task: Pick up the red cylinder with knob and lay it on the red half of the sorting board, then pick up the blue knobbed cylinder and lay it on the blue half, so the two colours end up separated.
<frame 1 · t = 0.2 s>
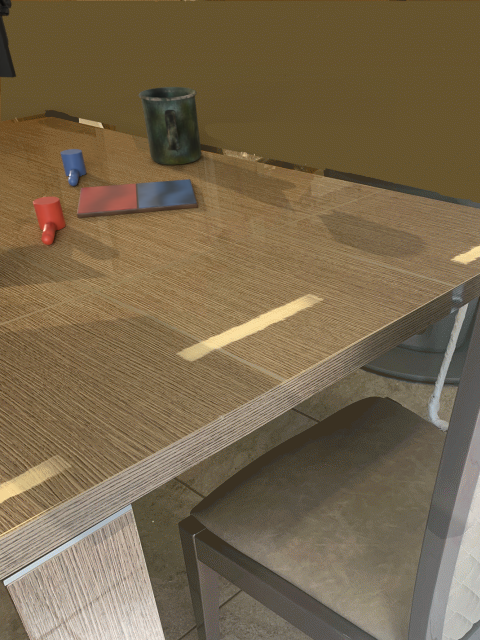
blue knobbed cylinder: (76, 174, 121), on the table
mug: (176, 161, 127), on the table
red cylinder with knob: (53, 226, 99), on the table
sorting board: (137, 199, 109), on the table
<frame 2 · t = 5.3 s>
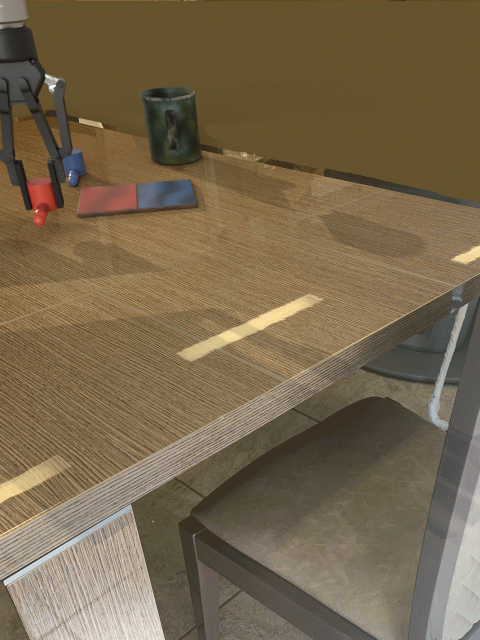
hand: (45, 205, 97), 3 cm above the table, tool pointing down, fingers closed on red cylinder with knob, 4 cm apart
red cylinder with knob: (46, 208, 97), point 3 cm above the table, touching gripper
everything else where it was.
when the fingers open (1 cm above the table, at t = 9.7 s): red cylinder with knob stays where it is, resting on sorting board.
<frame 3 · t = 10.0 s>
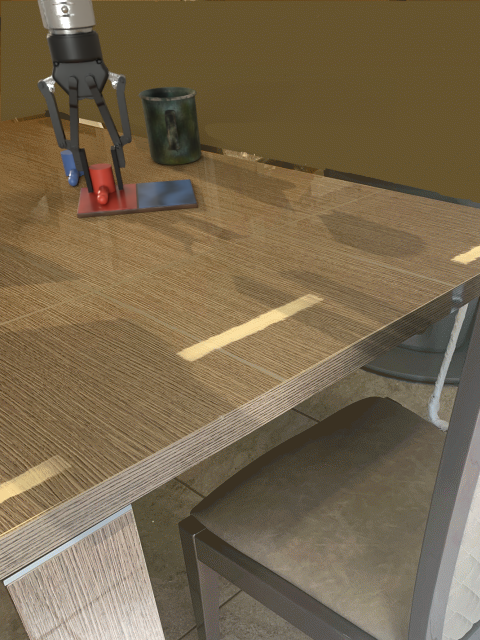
hand: (106, 188, 110), 1 cm above the table, tool pointing down, fingers open, 4 cm apart
red cylinder with knob: (105, 190, 110), point 1 cm above the table, touching gripper, sorting board
everything else where it was.
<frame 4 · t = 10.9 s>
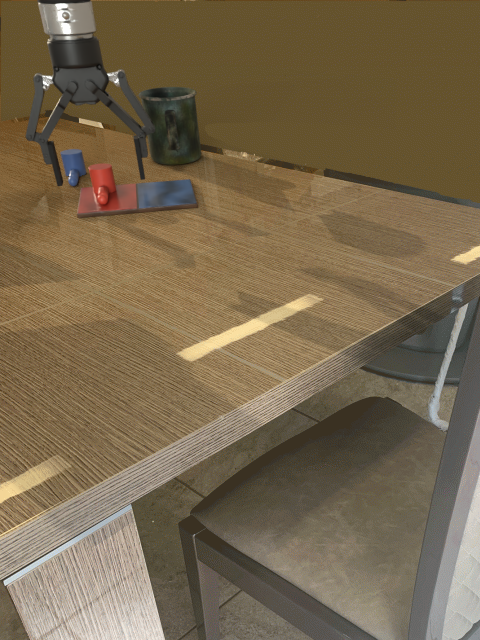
hand: (102, 180, 109), 2 cm above the table, tool pointing down, fingers open, 13 cm apart
red cylinder with knob: (105, 190, 110), point 1 cm above the table, touching sorting board
everything else where it was.
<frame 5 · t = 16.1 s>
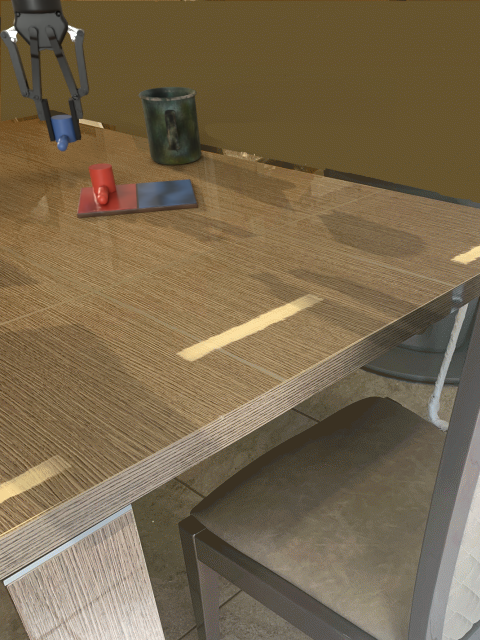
hand: (66, 138, 117), 6 cm above the table, tool pointing down, fingers closed on blue knobbed cylinder, 4 cm apart
blue knobbed cylinder: (66, 140, 117), point 6 cm above the table, touching gripper
everything else where it was.
when the fingers open (1 cm above the table, at t = 20.6 s): blue knobbed cylinder stays where it is, resting on sorting board.
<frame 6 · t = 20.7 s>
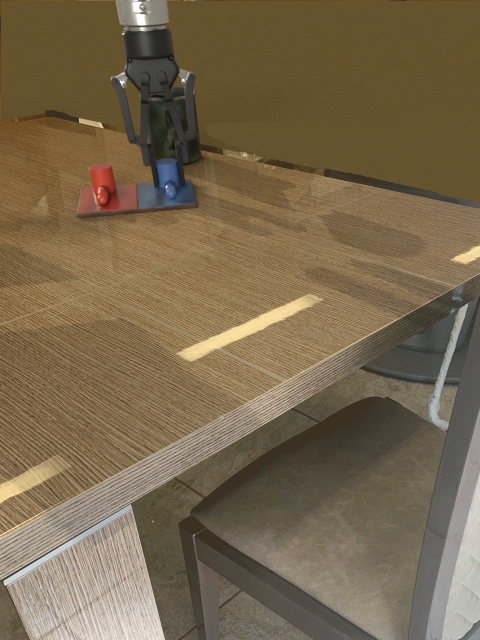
hand: (169, 183, 112), 1 cm above the table, tool pointing down, fingers open, 4 cm apart
blue knobbed cylinder: (169, 185, 113), point 1 cm above the table, touching sorting board
everything else where it was.
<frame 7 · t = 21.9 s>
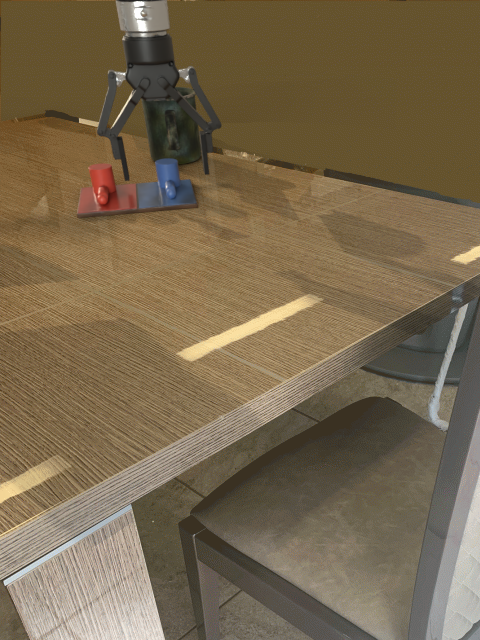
hand: (167, 175, 112), 2 cm above the table, tool pointing down, fingers open, 13 cm apart
nothing on the table moved.
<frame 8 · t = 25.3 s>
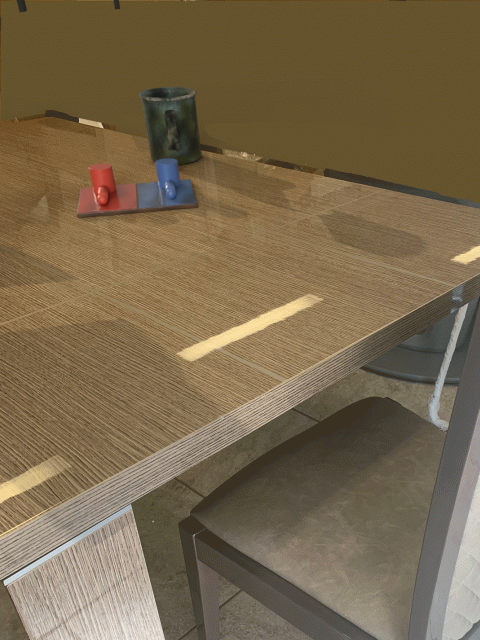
hand: (71, 10, 96), 27 cm above the table, tool pointing down, fingers open, 13 cm apart
nothing on the table moved.
at the end: red cylinder with knob inside the target area on the sorting board (3.8 cm from its centre), point 0.7 cm above the sorting board's base; blue knobbed cylinder inside the target area on the sorting board (4.1 cm from its centre), point 0.7 cm above the sorting board's base; red cylinder with knob tilted 0° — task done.
